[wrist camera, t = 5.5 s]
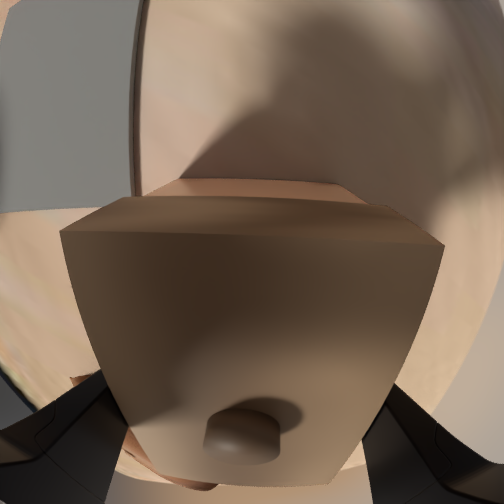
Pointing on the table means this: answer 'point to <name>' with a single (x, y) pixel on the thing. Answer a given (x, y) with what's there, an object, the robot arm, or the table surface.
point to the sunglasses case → (137, 452)
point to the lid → (249, 326)
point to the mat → (67, 103)
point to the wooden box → (256, 189)
